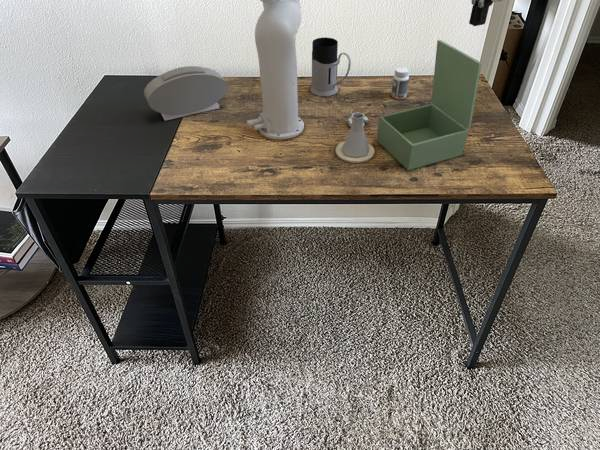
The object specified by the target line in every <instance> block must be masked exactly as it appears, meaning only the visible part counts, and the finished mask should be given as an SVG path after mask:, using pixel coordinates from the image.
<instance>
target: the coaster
mask: <svg viewBox="0 0 600 450" xmlns="http://www.w3.org/2000/svg"><path fill="white" fill-rule="evenodd" d="M344 143H345V140H344V141H342V142H339V143H338V144H337V145H336V147H335V155H336V157H337V158H338V159H340V160H342V161H344V162H346V163H352V164H360V163H361V164H363V163H366V162H368V161H370V160H372V159H373V158H374V156H375V151H376V150H375V148H374V146H373V145H372V144H371V143H369V142H368V145H369V152H368V154H367V155H365V156H360V157H353V156H347V155H345V154H344V152H343V151H342V147H343V145H344Z"/></svg>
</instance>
